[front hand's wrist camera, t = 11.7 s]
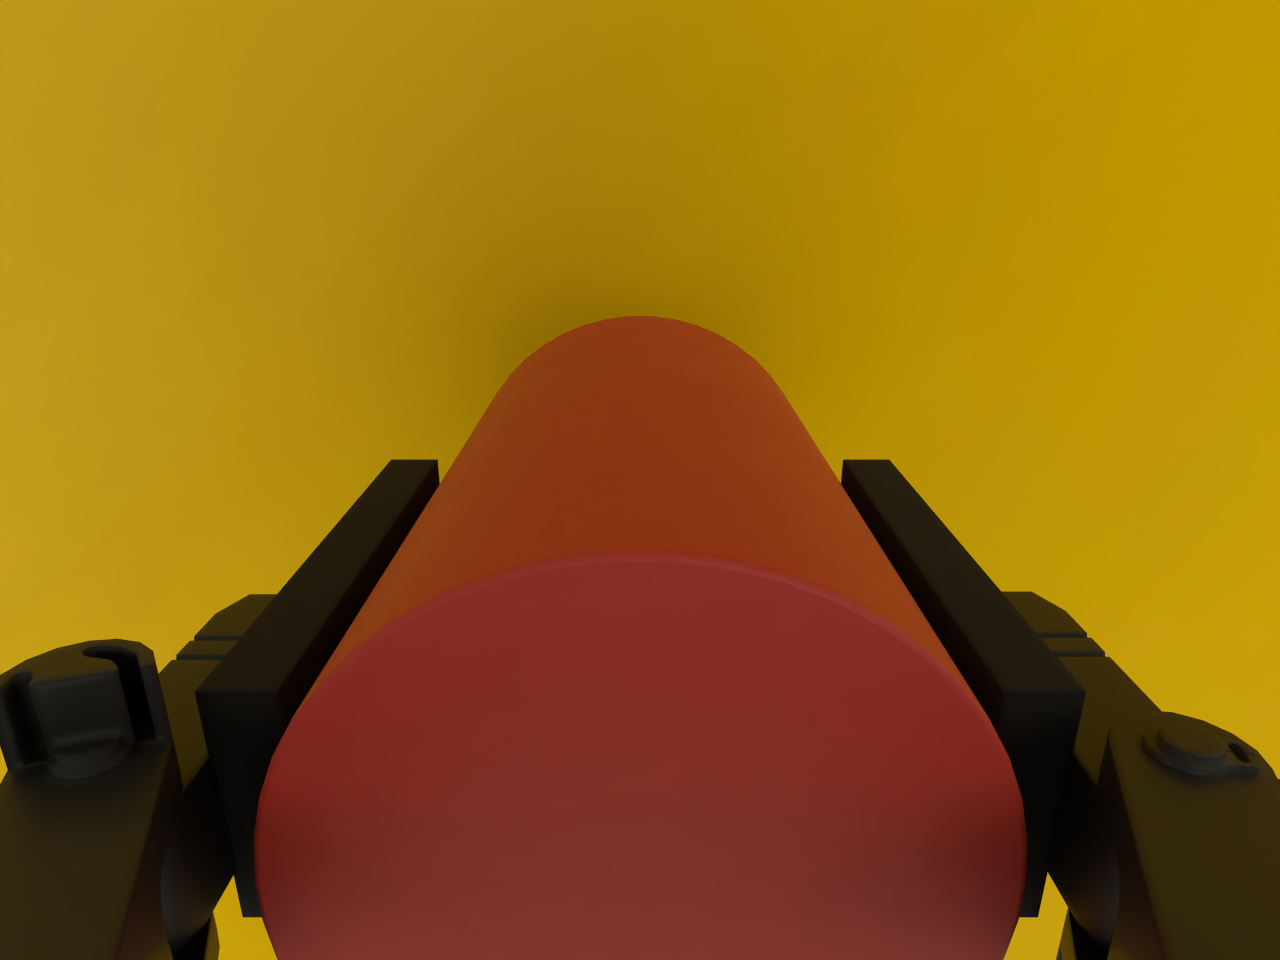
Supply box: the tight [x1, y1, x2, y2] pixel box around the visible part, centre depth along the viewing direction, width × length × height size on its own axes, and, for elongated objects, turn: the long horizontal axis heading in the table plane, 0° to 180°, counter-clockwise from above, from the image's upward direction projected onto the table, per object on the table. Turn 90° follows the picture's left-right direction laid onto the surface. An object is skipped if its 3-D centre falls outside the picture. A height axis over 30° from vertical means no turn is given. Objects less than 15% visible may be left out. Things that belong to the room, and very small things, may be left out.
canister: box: [254, 316, 1027, 960], centre depth 12 cm, size 7×7×10 cm
